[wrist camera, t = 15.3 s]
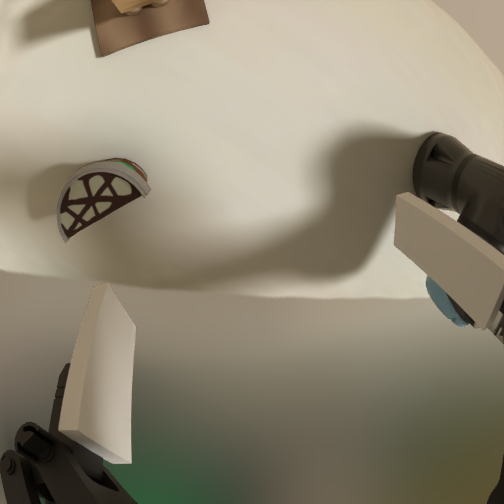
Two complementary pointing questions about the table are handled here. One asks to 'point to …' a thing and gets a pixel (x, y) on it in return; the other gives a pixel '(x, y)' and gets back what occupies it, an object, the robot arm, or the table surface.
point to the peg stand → (144, 21)
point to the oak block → (131, 4)
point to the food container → (98, 193)
